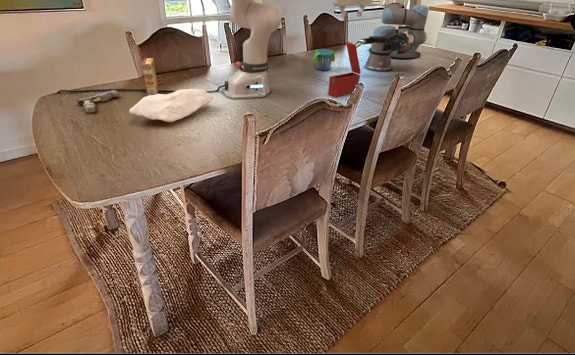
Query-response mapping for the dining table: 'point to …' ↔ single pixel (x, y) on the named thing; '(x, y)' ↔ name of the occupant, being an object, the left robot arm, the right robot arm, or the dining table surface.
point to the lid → (354, 55)
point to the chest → (343, 84)
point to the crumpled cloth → (171, 104)
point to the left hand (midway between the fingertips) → (351, 16)
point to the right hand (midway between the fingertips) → (372, 44)
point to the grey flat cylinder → (403, 54)
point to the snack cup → (323, 58)
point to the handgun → (95, 100)
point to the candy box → (150, 76)
